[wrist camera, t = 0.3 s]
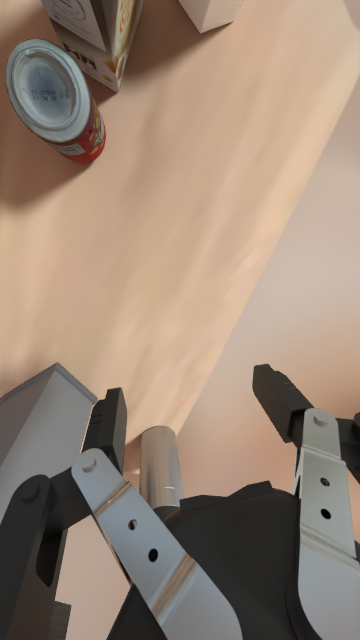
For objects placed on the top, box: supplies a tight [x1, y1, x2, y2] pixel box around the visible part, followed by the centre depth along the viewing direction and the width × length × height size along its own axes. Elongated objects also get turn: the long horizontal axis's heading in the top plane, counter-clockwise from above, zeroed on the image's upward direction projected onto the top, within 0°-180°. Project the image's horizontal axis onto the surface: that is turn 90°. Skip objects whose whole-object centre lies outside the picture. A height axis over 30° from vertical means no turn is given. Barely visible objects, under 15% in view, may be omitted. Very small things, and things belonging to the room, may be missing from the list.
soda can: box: [5, 38, 106, 163], centre depth 25 cm, size 7×7×12 cm
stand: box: [0, 362, 97, 524], centre depth 34 cm, size 14×12×32 cm
